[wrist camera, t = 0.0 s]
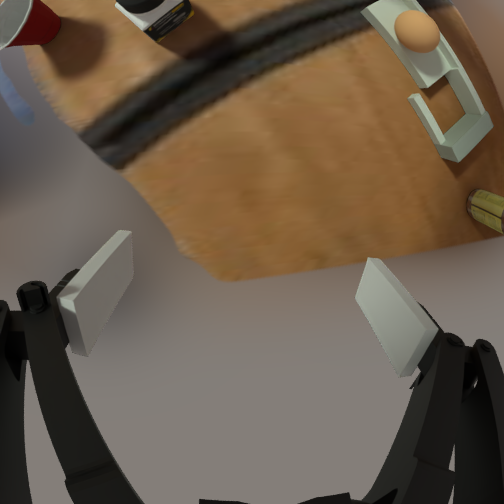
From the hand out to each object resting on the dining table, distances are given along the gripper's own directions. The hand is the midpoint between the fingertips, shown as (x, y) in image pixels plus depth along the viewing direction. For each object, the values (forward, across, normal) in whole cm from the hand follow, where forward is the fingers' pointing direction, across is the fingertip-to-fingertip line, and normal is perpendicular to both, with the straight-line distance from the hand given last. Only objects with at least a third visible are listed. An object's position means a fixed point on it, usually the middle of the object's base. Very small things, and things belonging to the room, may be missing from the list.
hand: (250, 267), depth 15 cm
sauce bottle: (+28, +45, +4) cm, 53 cm away
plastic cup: (+28, -37, +25) cm, 53 cm away
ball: (+22, +21, +28) cm, 41 cm away
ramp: (+28, +26, +23) cm, 45 cm away
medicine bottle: (+28, -15, +24) cm, 40 cm away
